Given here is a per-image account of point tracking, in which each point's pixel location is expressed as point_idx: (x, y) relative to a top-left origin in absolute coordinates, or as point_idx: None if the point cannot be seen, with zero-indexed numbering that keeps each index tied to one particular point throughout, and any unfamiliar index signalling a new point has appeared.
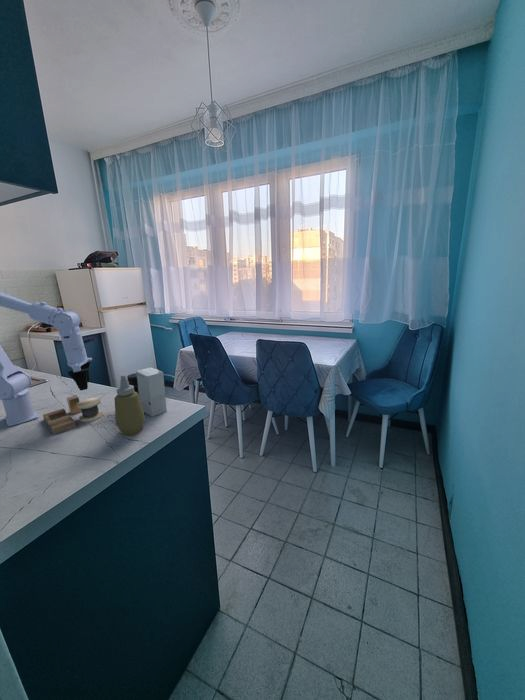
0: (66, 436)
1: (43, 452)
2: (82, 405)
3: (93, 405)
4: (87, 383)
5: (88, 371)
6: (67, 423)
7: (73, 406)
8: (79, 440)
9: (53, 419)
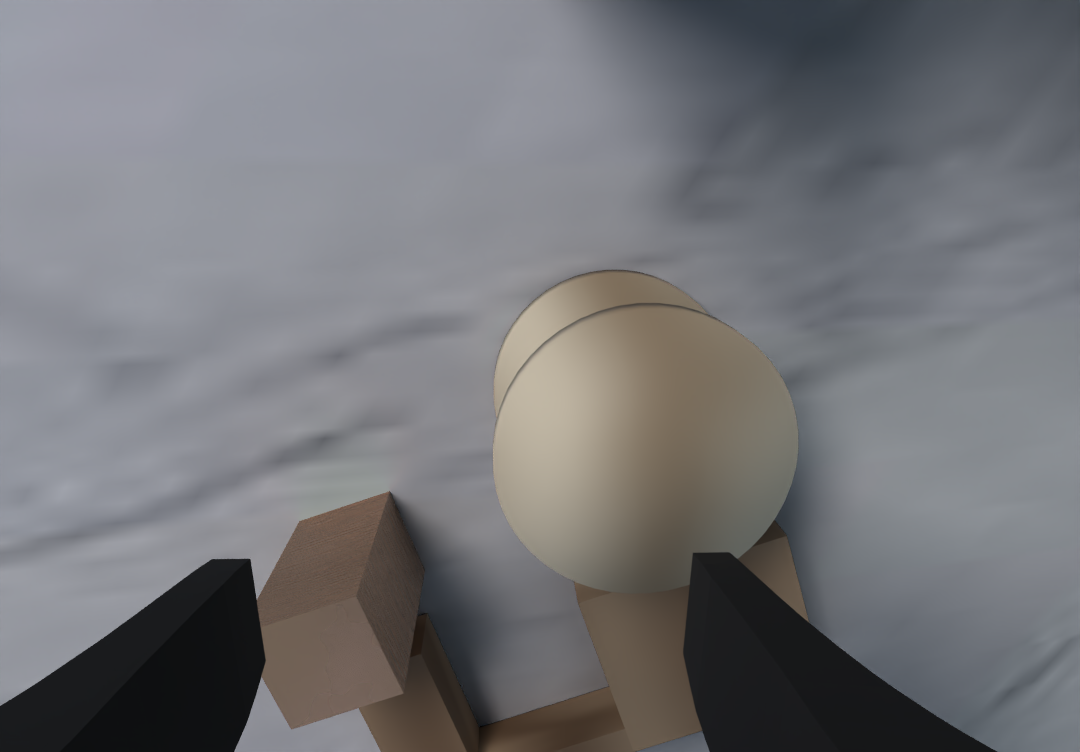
0: (909, 554)
1: (1065, 663)
2: (725, 520)
3: (785, 388)
4: (731, 600)
5: (91, 720)
6: (798, 591)
7: (404, 598)
8: (1067, 449)
9: (468, 704)
